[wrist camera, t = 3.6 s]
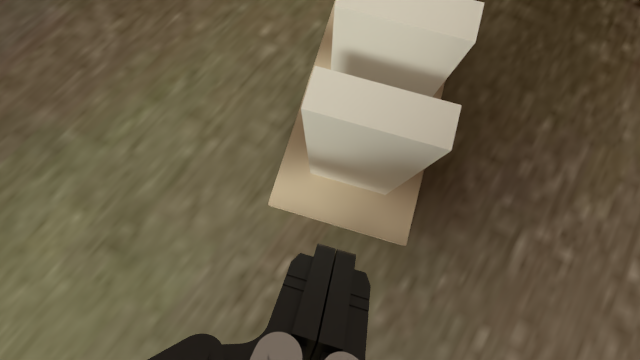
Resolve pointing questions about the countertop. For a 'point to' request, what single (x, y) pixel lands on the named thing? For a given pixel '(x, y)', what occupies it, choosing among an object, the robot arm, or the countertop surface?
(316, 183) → the domino board
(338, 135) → the tile
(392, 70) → the tile
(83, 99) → the countertop surface
